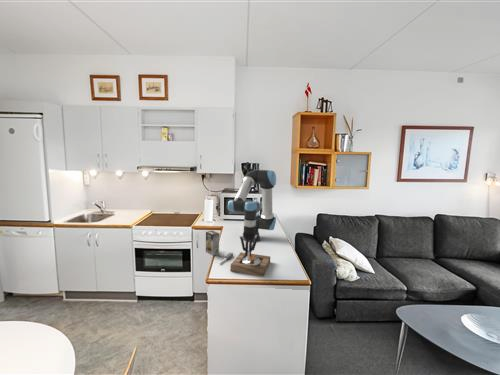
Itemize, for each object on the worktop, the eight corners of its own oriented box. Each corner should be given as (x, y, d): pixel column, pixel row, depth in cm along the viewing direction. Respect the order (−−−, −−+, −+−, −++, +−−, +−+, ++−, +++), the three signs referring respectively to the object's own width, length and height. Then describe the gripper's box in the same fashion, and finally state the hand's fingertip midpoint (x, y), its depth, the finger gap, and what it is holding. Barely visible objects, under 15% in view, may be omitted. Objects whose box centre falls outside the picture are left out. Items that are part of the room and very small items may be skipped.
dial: (241, 259, 179) (241, 248, 178) (259, 259, 181) (259, 248, 180) (242, 267, 167) (243, 256, 166) (261, 267, 168) (262, 255, 167)
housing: (240, 257, 188) (240, 251, 187) (270, 262, 182) (270, 256, 181) (230, 271, 167) (230, 264, 166) (263, 276, 161) (264, 269, 160)
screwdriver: (230, 255, 191) (230, 252, 191) (233, 256, 190) (233, 253, 190) (218, 264, 176) (218, 261, 175) (221, 265, 175) (221, 262, 174)
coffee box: (205, 252, 196) (205, 231, 193) (212, 250, 200) (212, 230, 198) (212, 255, 189) (212, 234, 187) (219, 253, 194) (219, 233, 191)
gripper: (241, 227, 159) (239, 263, 163) (261, 227, 163) (258, 262, 166) (238, 224, 167) (236, 258, 170) (257, 223, 170) (255, 257, 173)
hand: (247, 260), depth 168 cm, fingers closed
